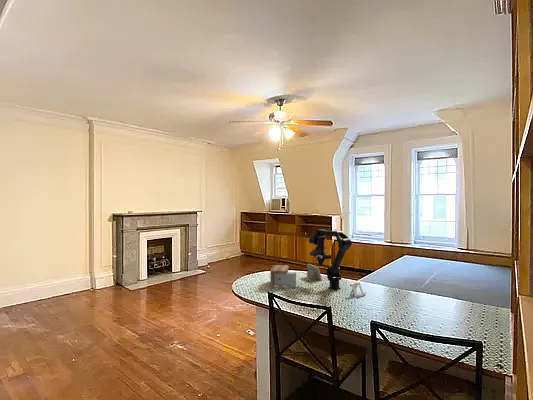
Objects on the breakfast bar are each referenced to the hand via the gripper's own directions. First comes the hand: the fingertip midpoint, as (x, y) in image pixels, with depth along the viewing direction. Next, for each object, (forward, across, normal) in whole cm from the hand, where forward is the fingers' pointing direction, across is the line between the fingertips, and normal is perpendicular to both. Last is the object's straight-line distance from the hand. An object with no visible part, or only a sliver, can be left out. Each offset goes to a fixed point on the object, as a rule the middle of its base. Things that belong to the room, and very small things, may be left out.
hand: (320, 266), depth 240 cm
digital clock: (+13, -14, +7) cm, 21 cm away
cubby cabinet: (+13, -14, -27) cm, 33 cm away
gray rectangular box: (+13, -8, -27) cm, 31 cm away
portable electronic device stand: (+13, +34, +2) cm, 37 cm away
